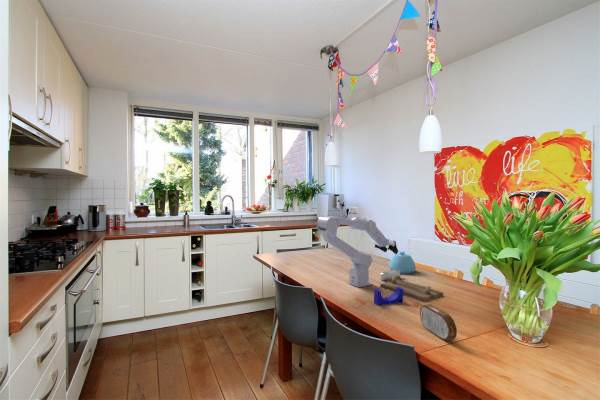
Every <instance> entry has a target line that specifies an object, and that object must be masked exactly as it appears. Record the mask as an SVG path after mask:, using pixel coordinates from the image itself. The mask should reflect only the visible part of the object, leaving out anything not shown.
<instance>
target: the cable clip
mask: <svg viewBox="0 0 600 400" xmlns="http://www.w3.org/2000/svg"><path fill="white" fill-rule="evenodd" d="M395 303H396V304H402V303H403V304H404V295H403V289H402V288H400V287H396V290H395V292H392V293H390V294H389V295H388V296H385V297H383V294H382V290H380V289H378V288H374V290H373V304H375V305H376V306H378V307H379V306H386V305H387V304H388V305H394V304H395ZM396 304H395V305H396ZM388 305H387V306H388Z"/></svg>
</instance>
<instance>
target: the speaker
mask: <svg viewBox="0 0 600 400" xmlns="http://www.w3.org/2000/svg"><path fill="white" fill-rule="evenodd" d="M419 315H420V316H419V317H420V318H419V319H420V322H421V324H422V325H423V327H424V328H425V329H426V330H427V331H429V332H430V333H432V334H433V335H435V336H436V337H437V338H439V339H441V340H443V341H451V340H452V341H453V340H456V337H457V334H458V333H457V332H458V331H457V326H456V325H457V324H456V323H455V320H454V319H453V317H452V316H451V315H450V314H449V313H448V312H446V310H445V311H444V310H442V308H439V307H437V306H436V305H434V304H432V303H428V304H423V305H421V306H420V308H419Z"/></svg>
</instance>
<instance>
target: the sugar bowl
mask: <svg viewBox="0 0 600 400" xmlns="http://www.w3.org/2000/svg"><path fill="white" fill-rule="evenodd" d="M415 263H416V262H415V260H414V259H413V258H412V256H411V255H410V254H408V253H405V251H402V250H401V251H399V253H397V254H395V253H393V256H392V257H391V258H390V260H389V264H388V269H389V271H392V270H400V275H404V274H405V275H408V274H409V275H410V274H413V273H414V272H415V271H416V270H417V269H416V264H415Z"/></svg>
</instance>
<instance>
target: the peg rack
mask: <svg viewBox="0 0 600 400" xmlns="http://www.w3.org/2000/svg"><path fill="white" fill-rule="evenodd" d="M379 286H380V288H382V289H385V290H388V291H390V292H392V293H395V290H396V287H400V288H402V289H403V296H405V297H409V298H410V299H411V298H412V299H415V300H417V301H420V302H422V303H423V302H426V301H430V300H433V299H436V298H440V297H443V296H444V292H443V291H439V290H436V289H433V288H431V286H429V285H427V286H422V285H419V284H416V283H412V282H409V281H406V280H401V279H396V277H395V276H393V277H392V280H391V281H386V282H382V283H380V285H379Z"/></svg>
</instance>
